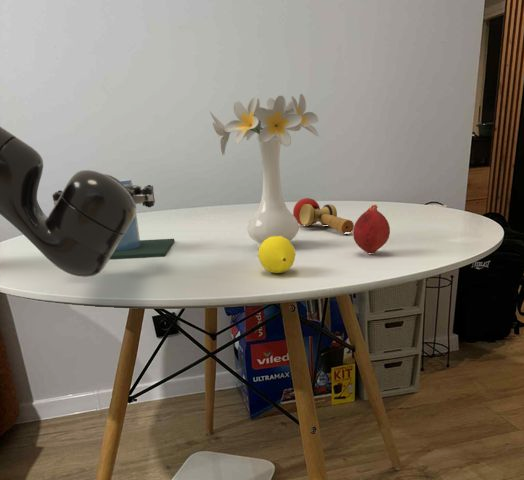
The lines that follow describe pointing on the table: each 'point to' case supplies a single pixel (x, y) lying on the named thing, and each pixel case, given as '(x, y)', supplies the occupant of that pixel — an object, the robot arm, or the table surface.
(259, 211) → the flower vase
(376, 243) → the onion
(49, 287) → the table surface
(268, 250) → the lemon
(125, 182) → the tumbler
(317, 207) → the kendama
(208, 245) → the table surface
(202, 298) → the table surface
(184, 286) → the table surface
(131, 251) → the mat
